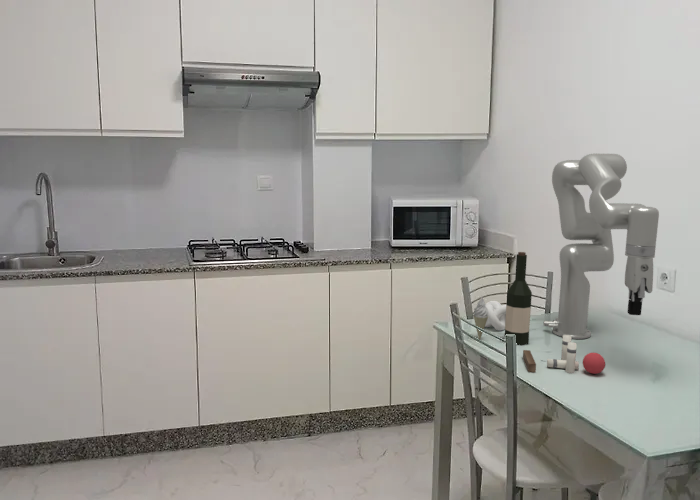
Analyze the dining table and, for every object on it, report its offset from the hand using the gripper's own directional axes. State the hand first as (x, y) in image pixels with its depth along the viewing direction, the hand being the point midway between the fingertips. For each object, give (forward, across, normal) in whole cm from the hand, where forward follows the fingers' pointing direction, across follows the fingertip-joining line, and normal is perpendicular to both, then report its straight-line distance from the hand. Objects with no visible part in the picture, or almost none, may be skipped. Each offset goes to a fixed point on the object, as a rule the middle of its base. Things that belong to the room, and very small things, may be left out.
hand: (634, 314), depth 171 cm
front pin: (+16, -1, +14) cm, 21 cm away
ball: (+14, -4, +11) cm, 18 cm away
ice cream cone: (+17, +22, +41) cm, 50 cm away
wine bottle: (+17, +22, +29) cm, 40 cm away
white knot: (+17, +37, +34) cm, 53 cm away
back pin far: (+17, +4, +17) cm, 24 cm away
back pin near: (+17, -4, +17) cm, 24 cm away
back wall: (+17, 0, +28) cm, 33 cm away
